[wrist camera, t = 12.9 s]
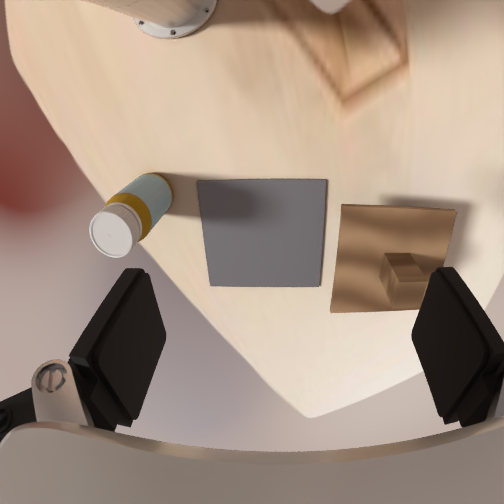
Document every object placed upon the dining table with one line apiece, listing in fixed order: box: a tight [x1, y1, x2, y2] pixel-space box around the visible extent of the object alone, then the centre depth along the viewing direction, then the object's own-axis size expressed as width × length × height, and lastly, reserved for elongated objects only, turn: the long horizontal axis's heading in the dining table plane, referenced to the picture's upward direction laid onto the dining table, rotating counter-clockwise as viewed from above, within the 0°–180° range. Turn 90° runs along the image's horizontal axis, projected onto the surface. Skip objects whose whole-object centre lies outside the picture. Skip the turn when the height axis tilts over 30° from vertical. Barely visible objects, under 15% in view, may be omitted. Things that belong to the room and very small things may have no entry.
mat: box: [197, 179, 326, 287], centre depth 49 cm, size 19×19×1 cm
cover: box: [330, 204, 456, 313], centre depth 37 cm, size 17×17×8 cm
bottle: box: [89, 173, 173, 258], centre depth 40 cm, size 7×7×15 cm
